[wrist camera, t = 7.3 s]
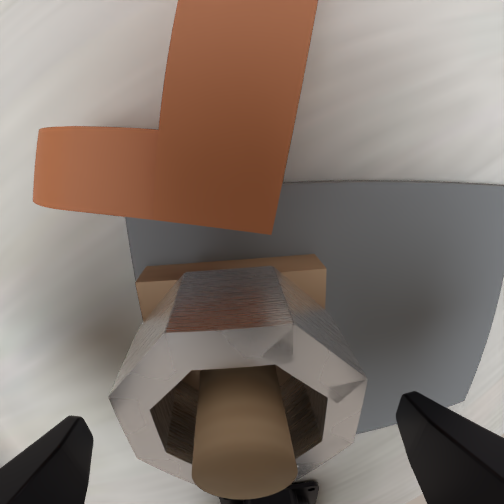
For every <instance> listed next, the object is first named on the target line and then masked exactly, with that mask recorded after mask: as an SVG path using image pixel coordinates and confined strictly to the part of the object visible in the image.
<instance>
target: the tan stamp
mask: <svg viewBox="0 0 504 504" xmlns="http://www.w3.org/2000/svg"><path fill="white" fill-rule="evenodd" d="M260 266H272V267H273V266H274V267H275V268H276V269H277V270H278V271H280V272H281V273H282V274H283V275H284V276H286V277H287V278H288V279H289V280H290V281H292V282H293V283H294V284H295V285H296V286H298V287H299V288H300V289H301V290H302V291H304V292H305V293H306V294H307V295H308V296H310V297H311V298H312V299H313V300H314V301H315V302H317V303H318V304H319V305H320V306H321V307H323V308H324V309H325V299H326V267H325V266H324V265H323V264H322V262H321V261H320V260H319V259H318V257H317V256H316V255H315V254H307V255H294V256H281V257H268V258H254V259H241V260H227V261H214V262H200V263H186V264H172V265H158V266H146V267H145V269H144V270H143V272H142V273H141V275H140V276H139V278H138V279H137V281H136V282H135V284H136V289H137V294H138V299H139V304H140V308H141V313H142V318H143V322H144V321H145V319H146V318H147V317H148V316H149V315H150V313H151V312H152V311H153V310H154V308H155V307H156V306H157V305H158V304H159V302H160V301H161V300H162V299H163V298H164V296H165V295H166V294H167V293H168V292H169V290H170V289H171V288H172V287H173V286H174V284H175V283H176V282H177V281H178V280H179V279H180V277H181V276H182V275H183V274H184V273H186V272H193V271H207V270H220V269H234V268H247V267H260ZM291 377H292V375H291V374H289V373H287V372H286V371H284V370H283V369H281V368H280V367H278V366H277V365H275V364H274V365H264V366H253V367H240V368H226V369H208V370H191V371H190V372H189V373H188V374H187V375H186V376H185V377H184V378H183V379H182V381H183V382H185V383H186V384H188V385H190V386H191V387H193V388H195V389H196V390H198V391H199V393H198V403H197V414H196V425H195V436H194V449H193V462H192V479H193V481H194V483H195V484H196V485H197V486H198V487H199V488H200V489H202V490H203V491H205V492H207V493H209V494H212V495H215V496H218V497H222V498H228V499H255V498H261V497H266V496H269V495H272V494H275V493H277V492H279V491H281V490H283V489H285V488H286V487H288V486H289V485H290V484H291V483H292V482H293V481H294V480H295V478H296V476H297V473H298V469H297V464H296V460H295V455H294V450H293V446H292V441H291V437H290V432H289V427H288V423H287V418H286V414H285V409H284V404H283V400H282V395H281V390H280V386H281V385H282V384H284V383H285V382H286V381H287V380H288V379H290V378H291Z"/></svg>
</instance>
